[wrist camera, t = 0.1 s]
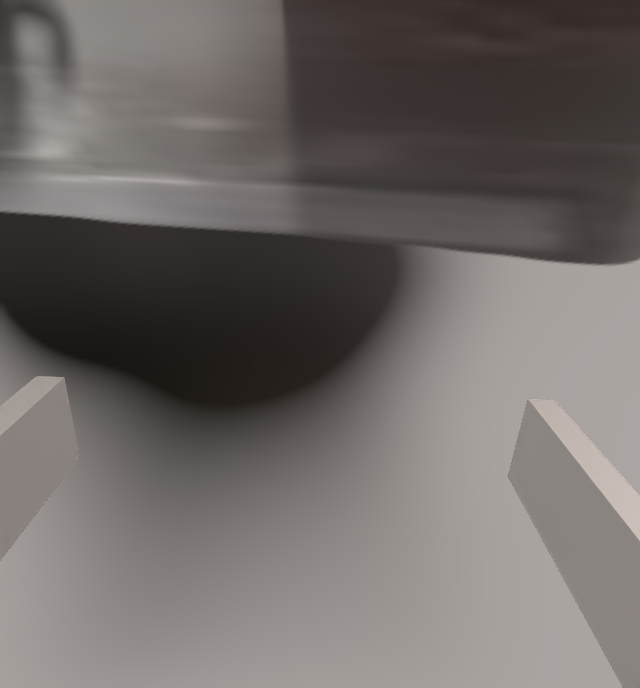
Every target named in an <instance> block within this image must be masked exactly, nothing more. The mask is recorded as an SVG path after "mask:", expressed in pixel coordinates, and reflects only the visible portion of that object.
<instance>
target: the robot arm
mask: <svg viewBox="0 0 640 688" xmlns="http://www.w3.org/2000/svg"><path fill="white" fill-rule="evenodd" d="M79 458H80V457H79V451H78V446H77V441H76V436H75V431H74V426H73V421H72V415H71V410H70V405H69V400H68V394H67V389H66V384H65V379H64V377H44V376H37V377H35V378H34V379H33V380H32V381H30V382H29V383H28V384H27V385H26V386H24V387H23V388H22V389H21V390H19V391H18V392H17V393H16V394H15V395H13V396H12V397H11V398H10V399H8V400H7V401H6V402H5V403H4V404H2V405H1V406H0V560H1V559H2V558H3V557H4V555H5V554H6V553H7V551H8V550H9V549H10V548H11V546H12V545H13V544H14V542H15V541H16V540H17V538H18V537H19V536H20V535H21V533H22V532H23V531H24V529H25V528H26V527H27V525H28V524H29V523H30V522H31V520H32V519H33V518H34V516H35V515H36V514H37V512H38V511H39V510H40V508H41V507H42V506H43V505H44V503H45V502H46V501H47V499H48V498H49V497H50V495H51V494H52V493H53V492H54V490H55V489H56V488H57V486H58V485H59V484H60V482H61V481H62V480H63V479H64V477H65V476H66V475H67V473H68V472H69V471H70V470H71V468H72V467H73V466H74V464H75V463H76V462H77V460H78V459H79ZM508 478H509V480H510V482H511V483H512V485H513V487H514V489H515V491H516V493H517V494H518V496H519V498H520V500H521V502H522V504H523V505H524V507H525V509H526V511H527V513H528V514H529V516H530V518H531V520H532V522H533V524H534V525H535V527H536V529H537V531H538V533H539V534H540V536H541V538H542V540H543V542H544V544H545V546H546V547H547V549H548V551H549V553H550V555H551V557H552V559H553V560H554V562H555V564H556V566H557V568H558V569H559V571H560V573H561V575H562V577H563V579H564V581H565V582H566V584H567V586H568V588H569V590H570V592H571V593H572V595H573V597H574V599H575V601H576V602H577V604H578V606H579V608H580V610H581V612H582V613H583V615H584V617H585V619H586V621H587V623H588V625H589V626H590V628H591V630H592V632H593V634H594V636H595V637H596V639H597V641H598V643H599V645H600V646H601V648H602V650H603V652H604V654H605V656H606V658H607V659H608V661H609V663H610V665H611V666H612V669H613V670H614V672H615V674H616V676H617V678H618V680H619V681H620V683H621V685H622V687H623V688H640V496H639V495H638V493H637V492H636V491H635V490H634V489H633V488H632V487H631V486H630V485H629V483H628V482H627V481H626V480H625V479H624V478H623V477H622V475H621V474H620V473H619V472H618V471H617V470H616V469H615V468H614V466H613V465H612V464H611V463H610V462H609V461H608V460H607V459H606V457H605V456H604V455H603V454H602V453H601V452H600V451H599V450H598V448H597V447H596V446H595V445H594V444H593V443H592V442H591V440H590V439H589V438H588V437H587V436H586V435H585V434H584V433H583V431H582V430H581V429H580V428H579V427H578V426H577V425H576V424H575V422H574V421H573V420H572V419H571V418H570V417H569V416H568V415H567V413H566V412H565V411H564V410H563V409H562V408H561V407H560V405H559V404H558V403H557V402H556V401H555V400H544V399H528V400H527V404H526V408H525V412H524V416H523V419H522V423H521V427H520V431H519V435H518V439H517V443H516V446H515V450H514V455H513V458H512V462H511V466H510V470H509V473H508Z"/></svg>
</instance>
